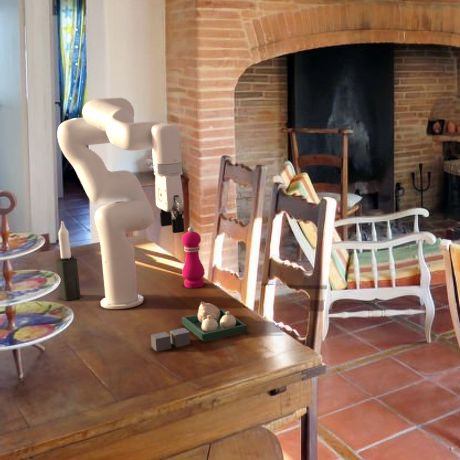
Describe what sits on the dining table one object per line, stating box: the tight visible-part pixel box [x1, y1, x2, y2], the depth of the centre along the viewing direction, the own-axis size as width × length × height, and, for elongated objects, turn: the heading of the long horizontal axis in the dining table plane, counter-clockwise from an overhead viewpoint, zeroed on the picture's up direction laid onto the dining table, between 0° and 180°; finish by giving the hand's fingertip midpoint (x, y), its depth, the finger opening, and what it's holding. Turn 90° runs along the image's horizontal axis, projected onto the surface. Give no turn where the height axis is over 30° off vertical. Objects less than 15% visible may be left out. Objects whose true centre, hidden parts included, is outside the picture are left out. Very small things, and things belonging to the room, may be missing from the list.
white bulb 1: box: [202, 315, 218, 333], centre depth 222 cm, size 4×4×5 cm
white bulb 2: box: [220, 310, 236, 329], centre depth 225 cm, size 4×4×5 cm
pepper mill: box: [181, 226, 206, 289], centre depth 265 cm, size 7×7×20 cm
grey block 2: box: [169, 327, 191, 348], centre depth 215 cm, size 4×4×4 cm
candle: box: [55, 220, 81, 302], centre depth 251 cm, size 5×5×25 cm
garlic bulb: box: [197, 300, 220, 323], centre depth 229 cm, size 7×6×8 cm
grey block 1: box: [150, 331, 172, 352], centre depth 212 cm, size 4×4×4 cm
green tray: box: [181, 308, 248, 342], centre depth 227 cm, size 17×13×3 cm
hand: (172, 229), depth 225 cm, fingers open, 9 cm apart
